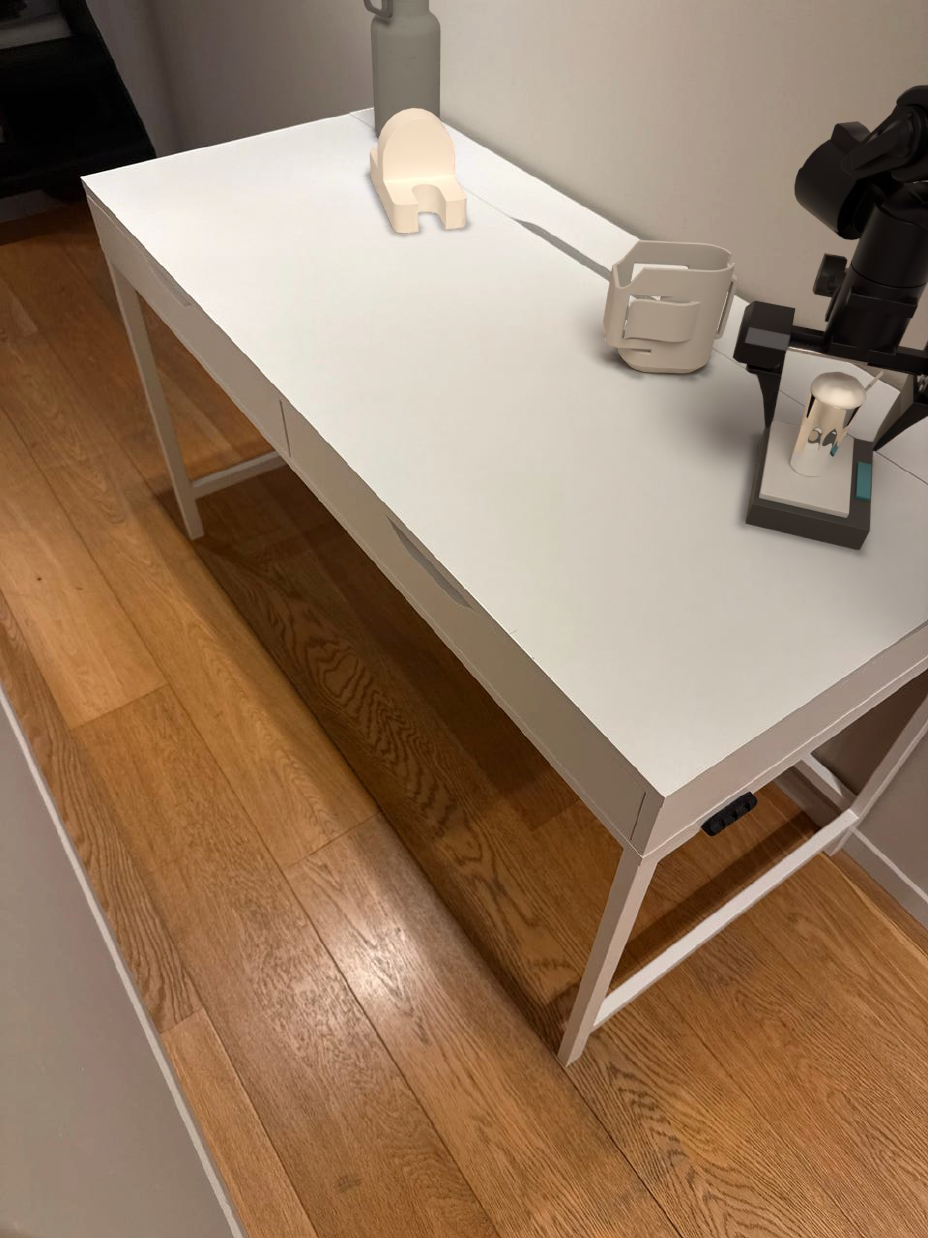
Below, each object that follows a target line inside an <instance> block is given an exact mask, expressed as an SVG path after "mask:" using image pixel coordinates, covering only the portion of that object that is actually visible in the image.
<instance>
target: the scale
mask: <svg viewBox="0 0 928 1238" xmlns="http://www.w3.org/2000/svg"><path fill="white" fill-rule="evenodd" d="M799 428H800V425H796V424H791V423H786V422H782V421H776V420H773V421H772V424H771V426H770V428H765V427H764V428H763V430H762V434H761V437H760V439H759V440H760V441H759V445H758V451H757V456H756V461H755V468H754V472H753V478H752V479H753V480H752V484H751V489H750V496H749V502H748V506H747V513H746V517H745V524H747V525H750V526H754V527H755V526H756V527H759V528H764V529H766V530H771V531H775V532H780V533H784V534H789V535H792V536H797V537H802V538H806V539H811V540H813V541H819V542H822V543H826V544H831V545H835V546H839V547H843V548H848V549H853V550H855V551H861V549H862V547H863V545H864V543H865V541H866V540H867V538H868V535H869V534H870V531H871V517H872V516H871V513H872V512H871V511H872V489H873V466H874V465H873V463H874V451H872V443H873V441H870V440H865V439H861V438H856V437H851V436H848V435H845V437H844V438H843V440H842V442H841V444H840V446H839V448H838V450H837V451H836V453H835V455H834V457H833V459H832V461H831V462H830V464H829V466H828V468H827V470H826V471H825V473H823V474H821V475H819V476H818V477H815V476H805V475H802V474H800V473H797V472H796V471H795V470H794V469H793V468H792V467H791V466H790V459H791V455H792V451H793V448H794V445H795V441H796V438H797V434H798V431H799Z"/></svg>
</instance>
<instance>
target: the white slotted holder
mask: <svg viewBox="0 0 928 1238" xmlns="http://www.w3.org/2000/svg"><path fill="white" fill-rule="evenodd" d="M377 139H378V140H377V146H373V147H371V148H370V149H369V167H370V168H369V169H370V179H371V182H372V184H373V186H374V188H375V191H376V193H377V195H378V198H379V200H380V202H381V205H382V208H383V209H384V212H385V213H386V216H387V218H388V220H389V223H390V224H391V227H392V229H393V231H394V232H395V233H397V234H412V233H419V213H433V214H434V215H437V216H438V217H439V219H440V221H441V223H442V225H443V227H444V229H445V230H454V229H462V228H464V227H466V225H467V199H468V196H467V194H466V192H465V190H464V189H463V187H462V185H461V183H460V182H459V179H458V178H457V177H456V150H455V144H454V142H453V139H452V137H451V134H450V133H449V132H448V130H447V128H446V127H445V125H444V124H443V122H442V121H441V119H440V120H439V118H438V117H436V116H435V115H434V114H432V113H431V112H429V111H426V110H424V109H417V108H411V109H406V110H403V111H401V112H399V113H397V114H395V115H394V116H393V117H392V118H390V119H389V120H388V121H387V123H386V124H385V126H384V127H383V129H382V130H381V133H380V136H378V138H377Z"/></svg>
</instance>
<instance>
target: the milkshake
mask: <svg viewBox="0 0 928 1238" xmlns="http://www.w3.org/2000/svg"><path fill="white" fill-rule="evenodd" d="M884 374H885V371H884V369H882V370H881V371H880V372H879V373H878V374H876V376H875V377H874V378H873V379H872V380H871V381H870V382H869V383H868V384H867V385H866V386H864V385H863V384H862V382H861V381H860V380H859V379H858V378H857V377H856V376H853V375H851V374H848V373H845V372H842V371H827V372H822V373H820V374H819V375H817V376H816V377H814V378H813V380H812V382H811V383H810V386H809V391H808V395H807V398H806V402H805V405H804V410H803V415H802V418H801V421H800V425H799V426H800V428H799V431H798V434H797V438H796V441H795V445H794V448H793V451H792V455H791V459H790V466H791V467H792V468H793V469H794V470H795V471H796V472H797V473H800V474H802V475H805V476H815V477H818V476H819V475H821V474H823V473H825V471H826V470H827V468H828V466H829V464H830V462H831V461H832V459H833V457H834V455H835V453H836V451H837V450H838V448H839V446H840V444H841V442H842V440H843V438H844V437H845V436H847V433H848V431H849V429H850V427H851V426H852V424H853V422H854V421H855V418H856V417H857V415H858V414H859V412H860V410H861V408H862V407H863V405H864V403H865V402H866V400H867V397H868V396H867V394H868V391H869V390H870V389H871V388H872V387H873V386H874V385H875V384H876V383H877V382H878V381H879V380H880V379H881V378H882V376H883V375H884Z"/></svg>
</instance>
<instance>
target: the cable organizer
mask: <svg viewBox="0 0 928 1238" xmlns="http://www.w3.org/2000/svg"><path fill="white" fill-rule="evenodd" d="M732 255H733V252H731V251H730V250H728V249H727V248H724V247H722V246H720V245H717V244H713V243H707V242H694V241H691V242H690V241H674V240H673V241H672V240H671V241H670V240H652V239H651V240H648V239H639V240H638V241H636V243H635V244H634V245H633V246H632V247H631V249H630V250H629V251H628V252H627V253H626V254H625V255H624V257H622V258H621V259H620V260H618V261H617V262H615V263H614V264H612V265H611V269H610V277H609V282H608V288H607V295H606V302H605V307H604V312H603V318H602V319H603V320H602V323H603V331H604V341H605V344H606V345H608V346H610V347H613V348H617V351H618V355H619V356H620V357H621V358H622V359H623V361H625V363H627V365H628V366H629V367H630V368H632V369H633V370H636V371H638V372H640V373H641V372H642V373H653V374H654V373H655V374H656V373H665V374H688V373H689V374H690V373H692V372H695V371H697V370H698V369H700V368H702V367H704V366H705V365H707V363H709V360H710V357H711V354H712V351H713V346H714V343H715V340H720V339H721V338H723V336H724V333H725V330H726V326H727V323H728V320H729V315H730V312H731V309H732V306H733V305H732V304H733V302H734V297H735V294H736V291H737V287H738V284H739V279H738V276H737V275H736V273H734V270H735V266H736V262H731V260H732ZM635 264H637V265H639V264H641V265H659V266H661V265H662V266H680V267H681V266H682V267H687V268H670V267H651V266H650V267H649V266H644V267H643V268H642V269H641V270H640V271H639V272H638V274H637V275H635V277H634V278H632V277H633V273H634V267H635ZM631 296H638V297H639V296H640V297H641V296H644V297H660V298H659V300H656V299H649V298H636V299H633V300H631V302H630V297H631ZM629 303H630V304H629ZM625 324H626V325H625ZM625 326H626V327H625Z"/></svg>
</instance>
